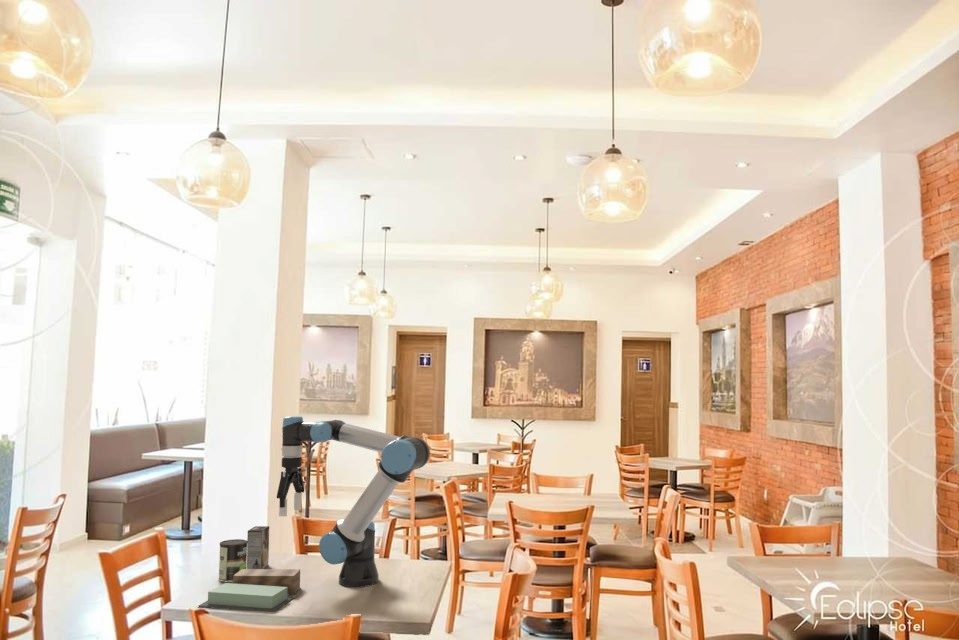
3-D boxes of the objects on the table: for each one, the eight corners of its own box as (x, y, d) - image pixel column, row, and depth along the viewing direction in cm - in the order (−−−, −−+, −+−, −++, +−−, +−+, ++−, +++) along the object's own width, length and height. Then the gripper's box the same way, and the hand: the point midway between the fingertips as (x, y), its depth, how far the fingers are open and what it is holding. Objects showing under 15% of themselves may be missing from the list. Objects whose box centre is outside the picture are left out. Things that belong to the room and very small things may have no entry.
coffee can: (251, 576, 275) (252, 539, 276) (237, 583, 265) (238, 545, 266) (227, 574, 277) (229, 538, 278) (212, 581, 267) (214, 544, 268)
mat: (294, 598, 247) (294, 596, 247) (275, 611, 232) (275, 610, 232) (220, 594, 251) (220, 592, 251) (197, 607, 236) (198, 605, 236)
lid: (287, 598, 244) (287, 587, 244) (271, 608, 233) (272, 596, 234) (225, 594, 249) (225, 582, 249) (207, 603, 238) (208, 591, 239)
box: (299, 588, 259) (300, 569, 260) (293, 595, 250) (293, 575, 251) (241, 588, 259) (241, 569, 260) (232, 595, 250) (233, 575, 251)
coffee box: (253, 564, 292) (254, 525, 293) (268, 565, 292) (269, 526, 293) (246, 570, 283) (247, 530, 284) (261, 570, 283) (262, 530, 284)
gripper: (295, 453, 280) (294, 507, 278) (268, 459, 256) (266, 518, 254) (313, 453, 279) (312, 507, 277) (287, 460, 255) (286, 519, 253)
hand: (290, 512), depth 266 cm, fingers open, 13 cm apart
